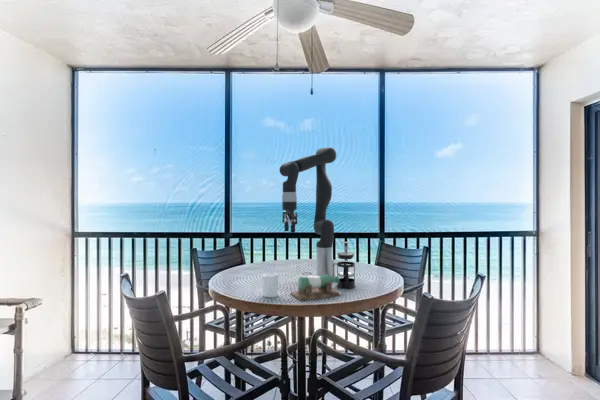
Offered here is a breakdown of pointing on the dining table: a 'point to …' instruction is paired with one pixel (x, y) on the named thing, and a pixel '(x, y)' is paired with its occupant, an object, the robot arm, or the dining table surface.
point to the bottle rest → (315, 292)
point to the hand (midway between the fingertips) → (289, 231)
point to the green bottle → (316, 281)
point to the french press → (345, 270)
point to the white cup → (270, 284)
